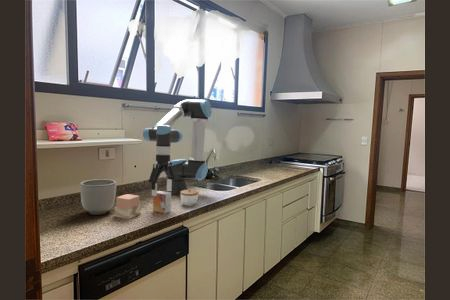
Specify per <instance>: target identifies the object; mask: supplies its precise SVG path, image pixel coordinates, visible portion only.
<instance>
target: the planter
mask: <svg viewBox="0 0 450 300" xmlns="http://www.w3.org/2000/svg"><path fill="white" fill-rule="evenodd" d="M79 189H80V190H79V191H80V193H79V194H80V201H81V205H82V208H83V210H85V211H86V212H88V213H89V214H90V215H93V216H94V215H95V216H97V215H98V216H99V215H104V214H107V213H108V212H109V210H111V209H112V208H113V207H114V205H115V203H116V195H117V194H116V193H117V181H116V180H114V179H109V178H106V179H105V178H102V179H101V178H100V179H89V180H88V179H87V180H83V181H81V182H80V183H79Z"/></svg>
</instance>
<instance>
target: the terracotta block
mask: <svg viewBox="0 0 450 300" xmlns="http://www.w3.org/2000/svg"><path fill="white" fill-rule="evenodd" d="M115 205H116V206H115V207H119V208H124V209H131V208H134V207H136V206H139V205H140V195H137V194H136V195H135V194H130V193H126V194H122V195H120V196H119V195H118V196H117V197H116V196H115Z"/></svg>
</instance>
